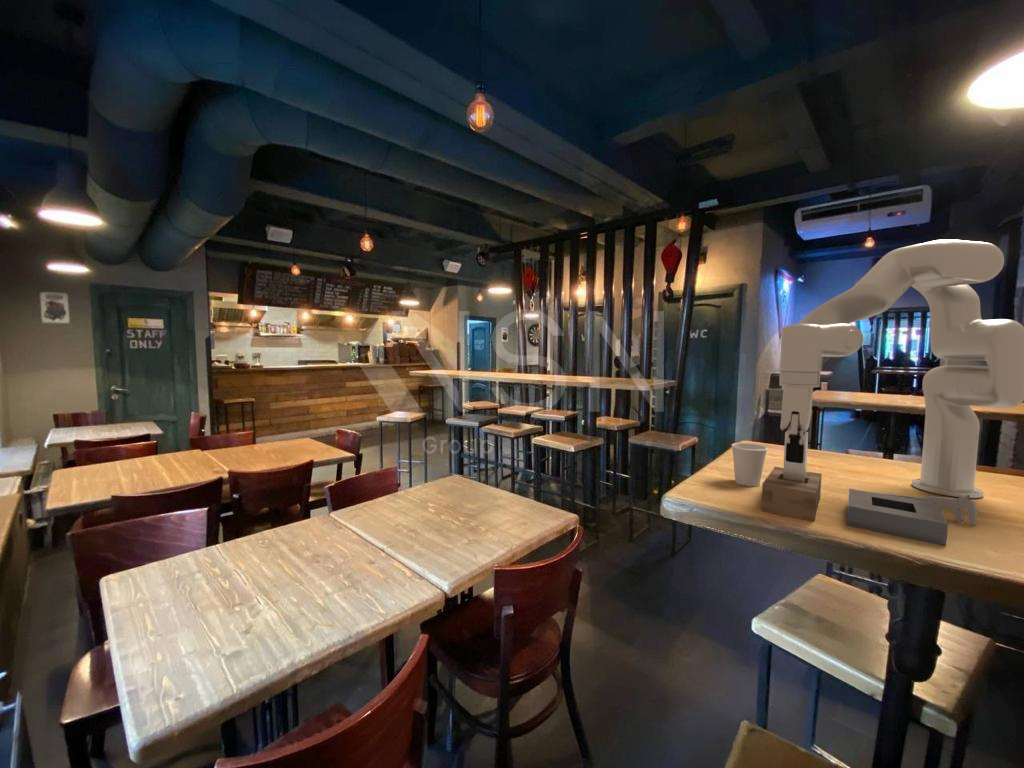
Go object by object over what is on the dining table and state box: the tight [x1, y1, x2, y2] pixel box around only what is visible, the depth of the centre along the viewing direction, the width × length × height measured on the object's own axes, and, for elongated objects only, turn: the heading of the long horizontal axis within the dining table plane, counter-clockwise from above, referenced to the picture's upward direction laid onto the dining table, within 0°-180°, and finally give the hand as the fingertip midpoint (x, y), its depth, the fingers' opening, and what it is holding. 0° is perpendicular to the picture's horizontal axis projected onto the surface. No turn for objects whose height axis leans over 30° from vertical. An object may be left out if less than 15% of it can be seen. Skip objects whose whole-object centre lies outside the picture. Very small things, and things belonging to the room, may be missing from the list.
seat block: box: [846, 488, 949, 546], centre depth 86 cm, size 14×14×4 cm
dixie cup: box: [731, 442, 769, 487], centre depth 111 cm, size 8×8×10 cm
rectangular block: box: [782, 429, 809, 484], centre depth 96 cm, size 4×4×14 cm
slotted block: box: [760, 466, 822, 522], centre depth 96 cm, size 18×10×6 cm, turn 141°
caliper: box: [872, 491, 978, 526], centre depth 94 cm, size 20×1×6 cm, turn 25°
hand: (795, 459), depth 96 cm, fingers closed on rectangular block, 4 cm apart
